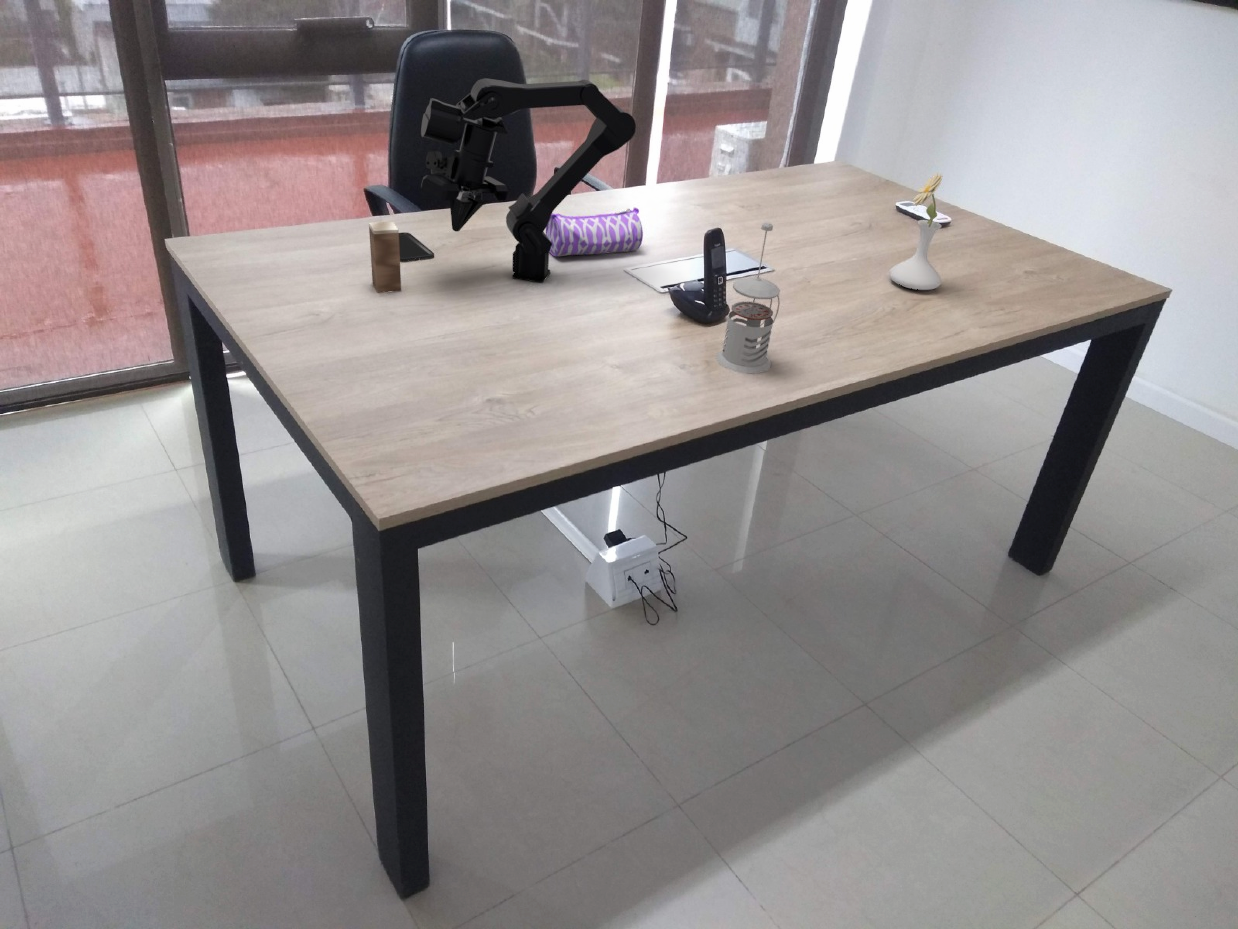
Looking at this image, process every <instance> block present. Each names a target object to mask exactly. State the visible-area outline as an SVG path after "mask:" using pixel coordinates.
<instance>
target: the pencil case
mask: <svg viewBox="0 0 1238 929" xmlns="http://www.w3.org/2000/svg"><path fill="white" fill-rule="evenodd" d="M638 214H640V209H639V208H638V207H633V210H632V209H631V208H627V209H626V210H621V211H617V212H614V213H613V212H612V213H601V214H595V215H577V216H573V215H572V216H571V215H562V214H560V213H553V212H552V215H551V217H550V220H549V222H548V225H547V227H546V228H545V234H546V236H547V237H548V239H549V240H550V241H551V243H552V246H551V248H550V251H549V254H550V255H552V256H553V257H565V256H575V255H577V256H580V255H581V256H582V255H599V254H611V253H622V252H623V253H624V252H632V251H637V250H638V249H640V247H641V245H642V242H643V238H644V237H643V236H644V231H643V225H642V221H641V219H640V216H639V215H638Z"/></svg>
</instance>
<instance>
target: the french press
mask: <svg viewBox="0 0 1238 929" xmlns="http://www.w3.org/2000/svg"><path fill="white" fill-rule="evenodd" d="M773 228H774V226H773V224H772V223H771V222H769V221H765V222H763V223H762V225H761V228H760V229H761V230H763V231H764V232H765V233H764V240H763V245H762V250H761V257H760V262H759V267H758V272H757V273H758V274H757V275H756V276H752V275H751V276H748V277H747V276H746V277H742V278H738V279H737V280H735V281H733V283H732V288H733V289H734V291H735V293H736V294H739V295H741V296H743V297H746V298H749V299H752V300H753V302H752V301H746V300H745V301H738V302H735V303H734V304H732V305H731V310H732V311H730V312H729V313H728V317H727V323H726V329H725V333H724V334H725V335H724V336H725V337H724V341H723V342H724V343H723V346H722V350H720V351H719V352H718V353H717V354H716V356H715V359H716V361H717V362H718V364H720V365H721V366H722V367H724V368H725V369H728V370H731V371H733V372H735V373H736V372H737V373H742V374H758V373H762V372H767V370H769V369H770V368H771V364H772V363H771V361H770V360H769V358H768V357H767V356H768V349H769V343H770V341H771V340H770V339H771V338H770V337H771V335H772V328H773V325H774V323H775V321H776V318H777V317H778V313H779V309H780V303H781V302H780V293H781V289H780V288H779V287H778V285H777V284H775V283H774V282H772V281H771V280H768V279H767V278H765V277H761V276H760V273H761V267H762V262H763V261H762V260H763V256H764V250H765V245H766V239H767V233H768V232H772V231H773ZM775 298H777V303H778V304H777V309H776V313H775V316H774V318H773V317H772V316H773V314H774V311H773V309H772V305H773V299H775ZM756 300H770V304H769V306H767V305H765V304H762V303H759V302H756ZM736 316H737V317H736ZM733 317H736V318H733ZM738 317H739V318H738ZM732 318H733V319H732ZM761 322H762V323H761ZM740 323H743V324H745V325H743V324H740ZM759 339H760V340H759ZM758 340H759V341H758ZM759 345H760V346H759ZM757 346H759V347H757Z"/></svg>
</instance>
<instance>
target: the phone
mask: <svg viewBox="0 0 1238 929" xmlns="http://www.w3.org/2000/svg"><path fill="white" fill-rule="evenodd" d="M399 252H400V263H411V262H417V261H418V260H420V261H426V260H433V259H434V258H435V252H433V251H432V250H431V249H429V248H428V246H427V245H425V244H424V243H423V242H421V241H420V240H419V239H417V238H416V237H415V236H414V235H413V234H412V233H410V232H405V231H403V232H399Z"/></svg>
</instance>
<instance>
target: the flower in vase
mask: <svg viewBox="0 0 1238 929" xmlns="http://www.w3.org/2000/svg"><path fill="white" fill-rule="evenodd" d="M942 174H943V173H940V174H939V172H936V173H935V174H934V175H933V177H932V178H931V177H928V179H926V182H925V183H924V184H923V187H920V188H919V189H918V191H917V193H918V194H916V196H915V197H914V198H913V200H912V201H913V202H914V203H913V206H915V207H917V206H921V204H924V203H925V202H926V201H928V199H929V198H930V197H932V201H933V202H932V203H930V205H928V206H927V207H926V214H927V215H928V217H929V220H927V219H920V220H918V221H917V225H918V228H919V241H918V245H917V249H916V251H915V253H914V254H913V255H912V256H911V257H910V258H908V259H905V260H904V261H902V262H901V261H900V263H897V264H895V265H894V266H892V267H891V268H890V270H889V271H888V276H889V279H890V280H891V281H893V282H894V283H896V284H897V285H899V284H900V285H899V286H901V285H902V287H903V288H904V287H905V288H908V289H911V288H912V290H917V289H918V291H930V290H934V289H937V288H939V287H940V286H941V284H942V278H941V276H940V274H939V272H938V271H937V270H936V269H935V267H934V266H933V265H932V264H931V263H930V261H929V259H928V251H929V248H930V244H931V242H932V239H933V237H934V236H935V234H936V233H937V231H938V230H940V229H941V228H942V225H941V224H940V223H939V222H936V221H935V220H934V219H935V218H937V216H938V213H937V209H936V207H937V206H936V205H937V204H936V199H935V198H936V197H935V194H934V193H935V192H936V191H937V189H938V188H939V186H941V182H942V179H943V175H942Z"/></svg>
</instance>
